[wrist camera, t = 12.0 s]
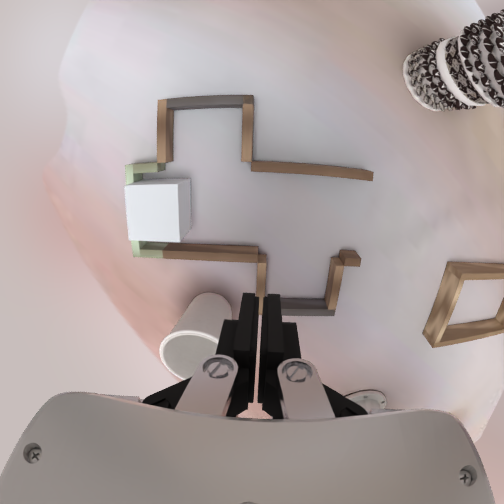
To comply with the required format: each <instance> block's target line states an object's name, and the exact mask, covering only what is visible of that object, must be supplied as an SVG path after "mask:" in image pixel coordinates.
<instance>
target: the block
mask: <svg viewBox="0 0 504 504" xmlns="http://www.w3.org/2000/svg"><path fill="white" fill-rule="evenodd" d="M124 188H125V204H126V216H127V226H128V236H129V240H135V241H159V242H181V241H182V239H183V238H184V237H185V236H186V234H187V233H188V232H189V231H190V230H191V178H165V179H142V180H139V181H136V182H133V183H130V184H128V185H125V186H124Z"/></svg>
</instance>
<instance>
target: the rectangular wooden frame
mask: <svg viewBox="0 0 504 504" xmlns="http://www.w3.org/2000/svg"><path fill="white" fill-rule="evenodd" d="M488 279H504V264H497V263H469V262H447V265H446V269H445V272H444V275H443V279H442V282H441V285H440V288H439V291H438V294H437V297H436V300H435V302H434V305H433V308H432V311H431V313H430V316H429V318H428V321H427V323H426V326H425V328H424V331H423V335H424V336H425V338H426V339H427V340H428V342H429V343H430V345H431V346H432V348H435V347H441V346H447V345H452V344H458V343H463V342H467V341H472V340H477V339H481V338H485V337H489V336H493V335H497V334H501V333H504V298H503V301H502V303H501V306H500V308H499V310H498V313H497V315H496V317H495V318H493V319H487V320H482V321H476V322H469V323H463V324H456V325H449V326H447V324H448V322H449V320H450V317H451V315H452V312H453V310H454V307H455V305H456V302H457V300H458V297H459V294H460V291H461V289H462V286H463V283H464V280H488Z"/></svg>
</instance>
